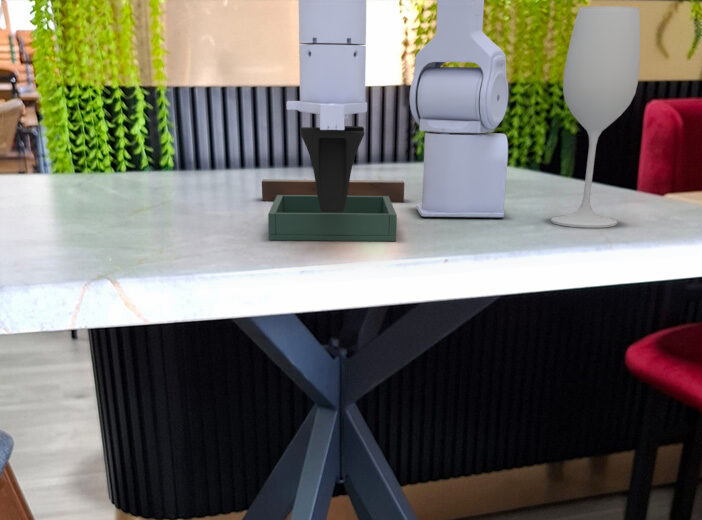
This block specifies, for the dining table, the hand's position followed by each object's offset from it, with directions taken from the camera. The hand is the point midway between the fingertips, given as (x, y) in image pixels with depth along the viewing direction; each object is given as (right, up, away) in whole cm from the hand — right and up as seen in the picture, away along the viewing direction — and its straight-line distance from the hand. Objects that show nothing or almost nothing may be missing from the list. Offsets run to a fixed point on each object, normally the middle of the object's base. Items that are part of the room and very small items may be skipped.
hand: (332, 211), depth 82 cm
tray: (0, +2, +11) cm, 12 cm away
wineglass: (+28, +4, +18) cm, 33 cm away
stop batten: (-1, +12, +32) cm, 34 cm away
